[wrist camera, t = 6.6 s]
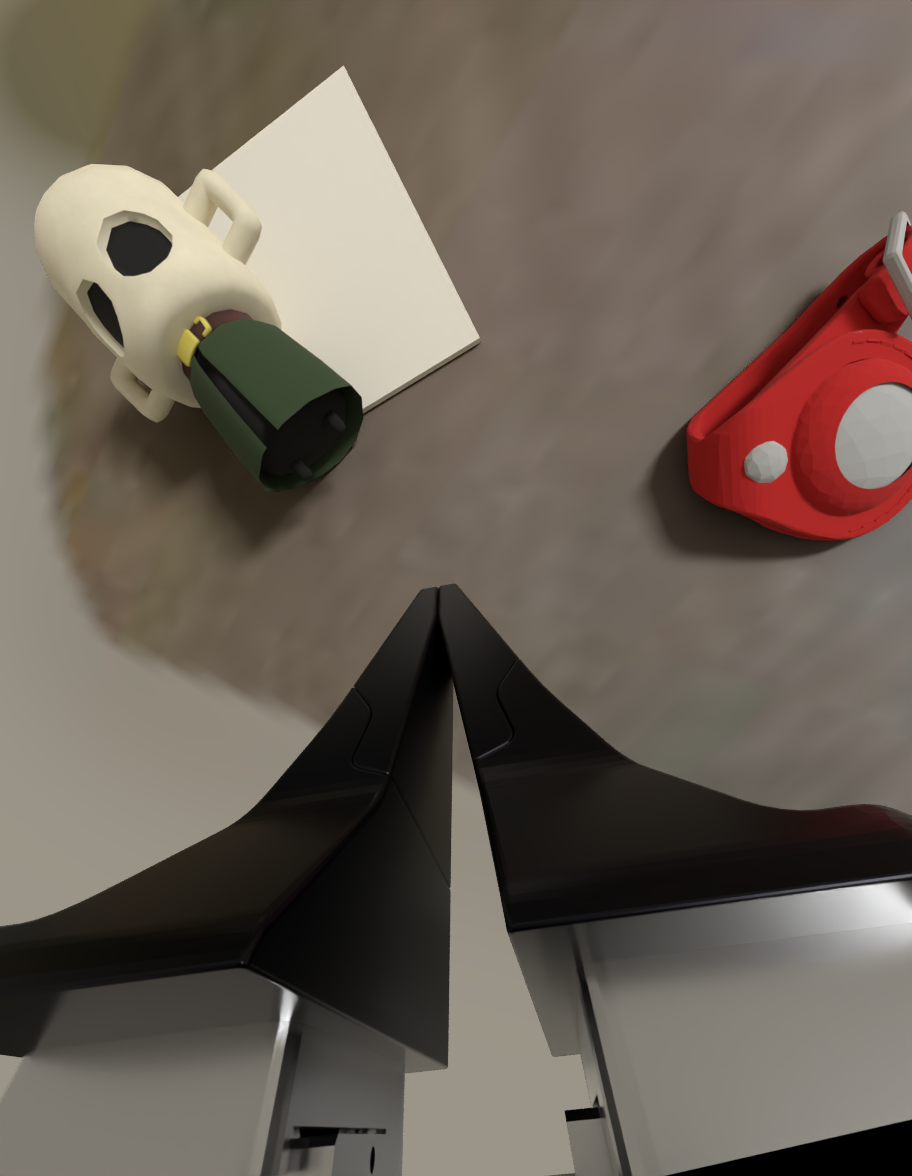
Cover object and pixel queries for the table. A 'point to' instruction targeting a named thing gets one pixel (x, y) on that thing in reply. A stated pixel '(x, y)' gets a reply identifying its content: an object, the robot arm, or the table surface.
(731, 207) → the table surface
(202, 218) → the character mug
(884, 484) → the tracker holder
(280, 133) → the oatmeal mat
